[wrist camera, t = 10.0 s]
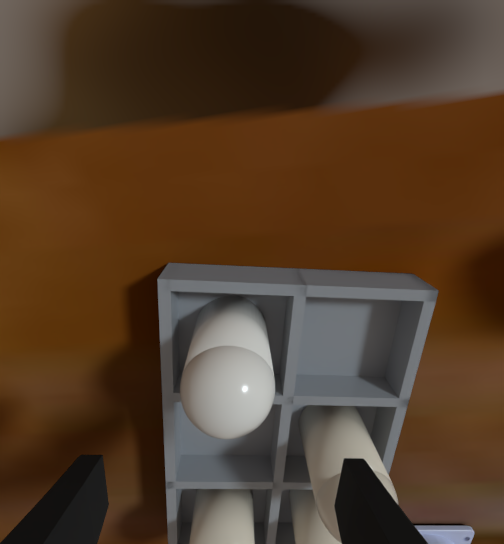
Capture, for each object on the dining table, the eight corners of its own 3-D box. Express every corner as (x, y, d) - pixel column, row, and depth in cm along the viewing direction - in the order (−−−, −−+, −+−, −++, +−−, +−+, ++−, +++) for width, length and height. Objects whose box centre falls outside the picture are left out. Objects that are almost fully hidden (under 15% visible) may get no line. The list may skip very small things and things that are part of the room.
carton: (354, 519, 25) (366, 557, 23) (175, 519, 24) (168, 558, 22) (413, 273, 18) (438, 290, 16) (168, 262, 17) (157, 278, 15)
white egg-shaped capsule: (263, 358, 19) (275, 464, 12) (195, 356, 19) (172, 463, 12) (268, 297, 18) (285, 379, 11) (196, 294, 18) (169, 375, 11)
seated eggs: (339, 513, 24) (377, 649, 17) (195, 512, 23) (178, 653, 17) (364, 397, 20) (424, 511, 14) (196, 393, 20) (174, 511, 13)
